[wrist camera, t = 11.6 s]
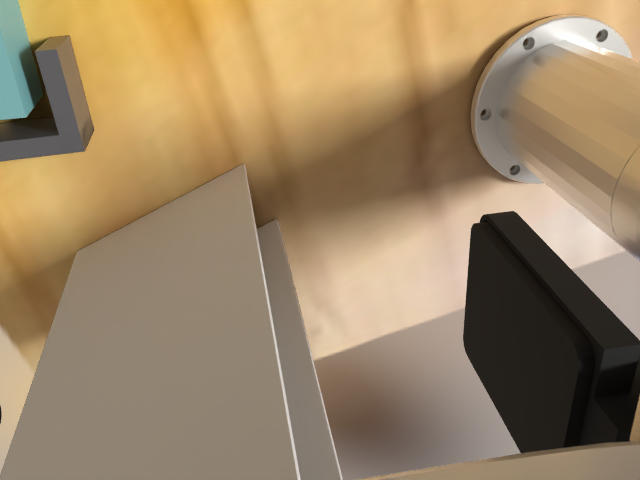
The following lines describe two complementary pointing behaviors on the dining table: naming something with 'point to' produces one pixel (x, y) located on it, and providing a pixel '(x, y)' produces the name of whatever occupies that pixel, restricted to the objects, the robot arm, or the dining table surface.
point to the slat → (16, 65)
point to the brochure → (178, 356)
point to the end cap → (66, 103)
